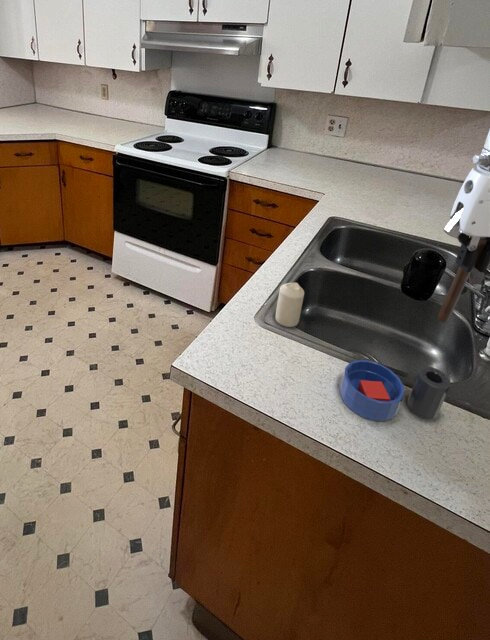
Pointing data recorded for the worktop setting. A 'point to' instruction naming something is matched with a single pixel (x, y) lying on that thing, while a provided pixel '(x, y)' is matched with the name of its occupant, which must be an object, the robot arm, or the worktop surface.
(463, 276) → the stirring stick
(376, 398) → the red block
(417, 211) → the worktop surface
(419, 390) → the utensil holder
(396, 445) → the worktop surface
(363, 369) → the bowl
